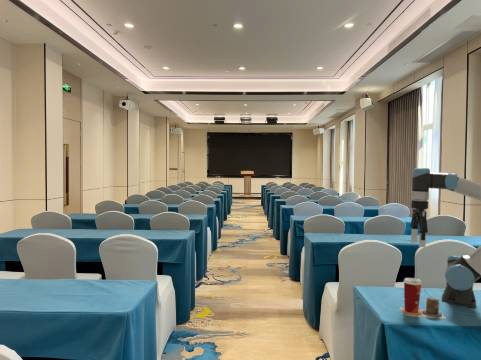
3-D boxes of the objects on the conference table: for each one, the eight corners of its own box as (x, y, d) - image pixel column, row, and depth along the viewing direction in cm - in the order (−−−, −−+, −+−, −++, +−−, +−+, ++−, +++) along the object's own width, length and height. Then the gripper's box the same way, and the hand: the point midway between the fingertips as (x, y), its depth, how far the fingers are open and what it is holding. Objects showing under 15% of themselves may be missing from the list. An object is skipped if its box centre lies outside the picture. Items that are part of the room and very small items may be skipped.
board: (438, 313, 201) (438, 310, 201) (446, 321, 190) (446, 318, 190) (399, 310, 203) (399, 307, 203) (404, 318, 192) (404, 315, 192)
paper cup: (422, 314, 193) (423, 282, 192) (403, 312, 194) (405, 281, 194) (418, 309, 200) (420, 278, 200) (400, 307, 202) (402, 276, 202)
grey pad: (438, 311, 200) (438, 310, 199) (444, 317, 192) (444, 316, 192) (420, 310, 201) (420, 309, 201) (425, 316, 193) (425, 314, 193)
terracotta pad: (418, 310, 201) (418, 309, 201) (423, 315, 193) (423, 314, 193) (400, 308, 202) (400, 307, 202) (404, 314, 194) (404, 313, 194)
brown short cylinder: (436, 311, 198) (437, 297, 198) (439, 315, 193) (440, 301, 193) (424, 310, 199) (425, 297, 199) (427, 314, 194) (428, 300, 194)
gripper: (405, 198, 225) (403, 239, 226) (419, 201, 200) (417, 248, 201) (420, 198, 224) (418, 240, 225) (436, 202, 200) (434, 249, 200)
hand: (417, 244), depth 213 cm, fingers open, 13 cm apart
